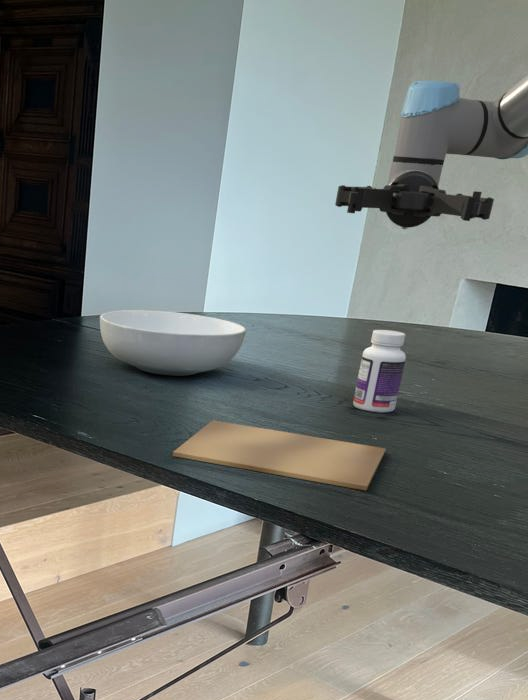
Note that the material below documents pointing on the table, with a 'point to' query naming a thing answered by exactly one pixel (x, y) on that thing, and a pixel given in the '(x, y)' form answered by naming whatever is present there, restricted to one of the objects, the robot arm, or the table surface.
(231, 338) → the serving bowl
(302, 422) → the table surface
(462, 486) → the table surface
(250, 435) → the cork mat
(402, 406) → the table surface
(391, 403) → the pill bottle
